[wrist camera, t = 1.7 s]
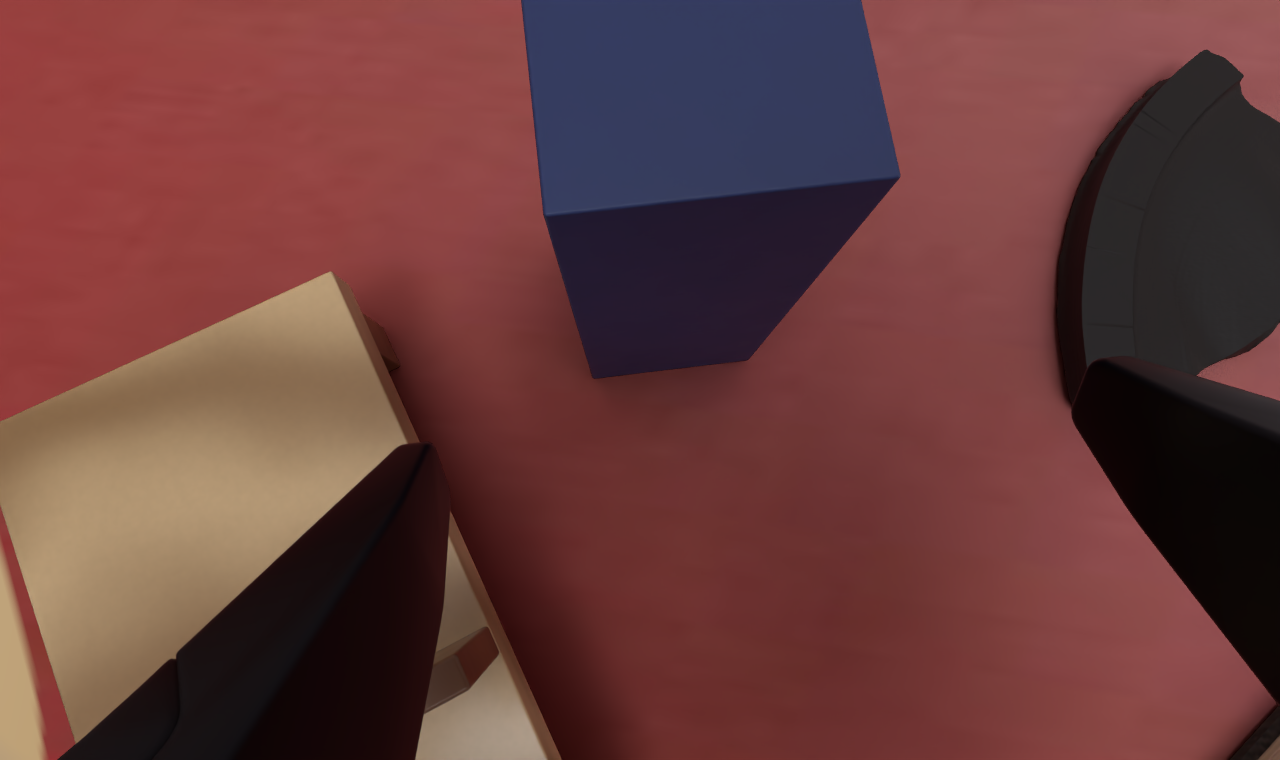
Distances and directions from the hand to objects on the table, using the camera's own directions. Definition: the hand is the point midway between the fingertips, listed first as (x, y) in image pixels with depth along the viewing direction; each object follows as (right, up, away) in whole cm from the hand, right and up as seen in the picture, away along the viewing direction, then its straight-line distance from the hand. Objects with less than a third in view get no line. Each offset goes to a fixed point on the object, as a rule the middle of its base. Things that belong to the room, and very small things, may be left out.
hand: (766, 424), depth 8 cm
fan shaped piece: (+18, +6, +15) cm, 24 cm away
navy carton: (-1, +3, +14) cm, 14 cm away
